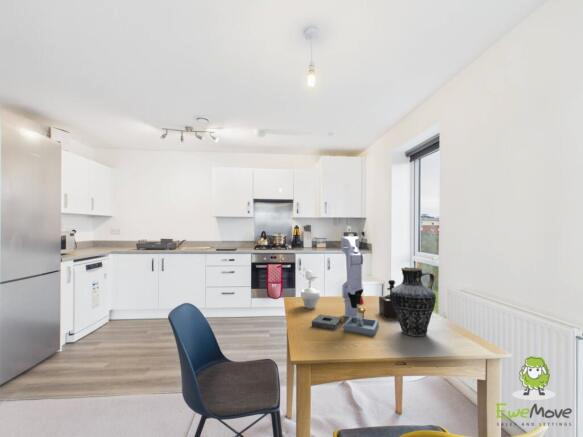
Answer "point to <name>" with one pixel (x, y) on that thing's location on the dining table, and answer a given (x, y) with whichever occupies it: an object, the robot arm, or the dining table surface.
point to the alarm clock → (361, 300)
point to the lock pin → (360, 316)
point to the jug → (413, 301)
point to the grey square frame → (327, 322)
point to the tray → (367, 329)
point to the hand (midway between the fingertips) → (355, 305)
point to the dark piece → (387, 304)
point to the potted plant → (310, 292)
